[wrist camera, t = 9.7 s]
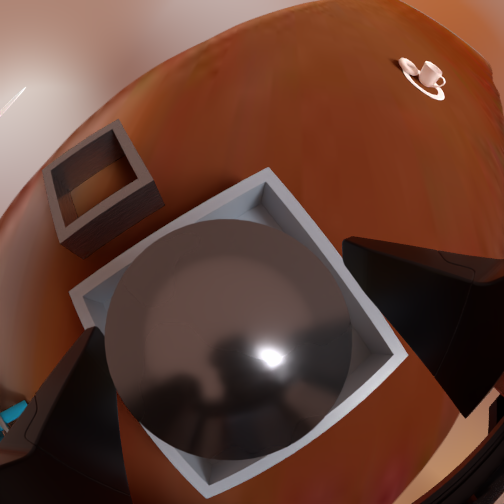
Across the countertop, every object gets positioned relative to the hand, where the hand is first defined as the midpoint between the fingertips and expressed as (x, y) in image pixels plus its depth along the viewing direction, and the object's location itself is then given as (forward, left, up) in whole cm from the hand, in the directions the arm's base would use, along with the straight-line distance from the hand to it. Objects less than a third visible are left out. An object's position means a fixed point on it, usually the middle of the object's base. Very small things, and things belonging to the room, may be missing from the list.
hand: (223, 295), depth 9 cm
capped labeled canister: (-1, 0, -8) cm, 9 cm away
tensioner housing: (+13, +3, -9) cm, 16 cm away
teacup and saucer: (+13, -44, -10) cm, 47 cm away
